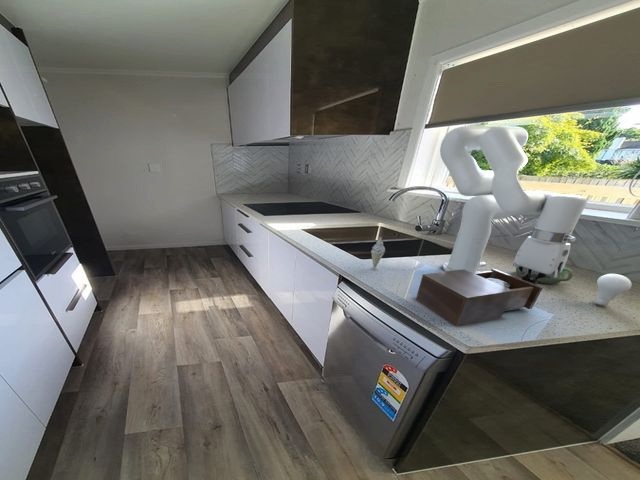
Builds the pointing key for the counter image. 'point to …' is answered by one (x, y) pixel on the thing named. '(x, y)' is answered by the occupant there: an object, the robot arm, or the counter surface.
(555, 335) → the counter surface
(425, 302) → the wooden box
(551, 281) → the green rounded ceramic pot
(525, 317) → the counter surface
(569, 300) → the counter surface
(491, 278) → the tin
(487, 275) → the drawer
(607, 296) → the lightbulb
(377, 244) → the ice cream cone
